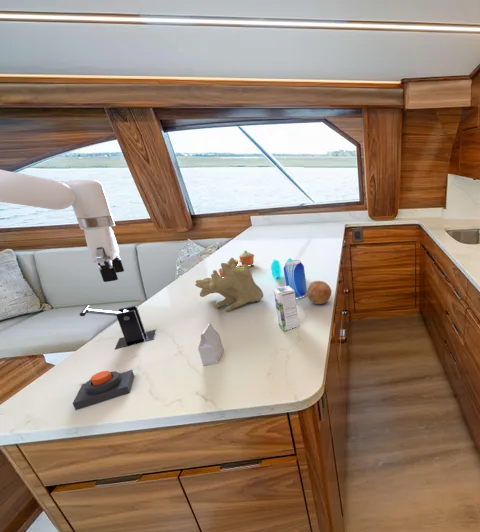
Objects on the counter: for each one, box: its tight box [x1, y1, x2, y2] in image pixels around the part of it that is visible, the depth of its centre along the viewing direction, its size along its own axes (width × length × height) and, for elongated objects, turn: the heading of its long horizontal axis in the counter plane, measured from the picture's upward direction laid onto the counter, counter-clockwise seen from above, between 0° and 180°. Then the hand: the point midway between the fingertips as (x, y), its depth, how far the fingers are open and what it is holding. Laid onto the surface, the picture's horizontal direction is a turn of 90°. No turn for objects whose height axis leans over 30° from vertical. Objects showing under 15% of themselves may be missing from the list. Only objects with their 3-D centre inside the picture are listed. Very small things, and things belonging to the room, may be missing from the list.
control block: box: [72, 369, 135, 411], centre depth 77 cm, size 10×8×4 cm
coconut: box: [306, 280, 332, 305], centre depth 124 cm, size 10×10×10 cm
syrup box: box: [272, 285, 300, 332], centre depth 105 cm, size 6×6×14 cm
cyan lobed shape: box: [270, 257, 293, 279], centre depth 155 cm, size 10×10×10 cm
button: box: [90, 370, 112, 385], centre depth 76 cm, size 4×4×2 cm
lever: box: [79, 305, 131, 317], centre depth 94 cm, size 12×6×2 cm, turn 123°
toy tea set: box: [217, 250, 255, 277], centre depth 166 cm, size 26×16×10 cm, turn 15°
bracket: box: [114, 305, 157, 350], centre depth 98 cm, size 10×8×12 cm
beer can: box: [283, 259, 308, 298], centre depth 130 cm, size 8×8×16 cm
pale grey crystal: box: [198, 323, 224, 367], centre depth 89 cm, size 4×7×10 cm, turn 15°
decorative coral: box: [195, 257, 264, 313], centre depth 124 cm, size 26×22×25 cm
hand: (114, 276), depth 94 cm, fingers open, 9 cm apart
